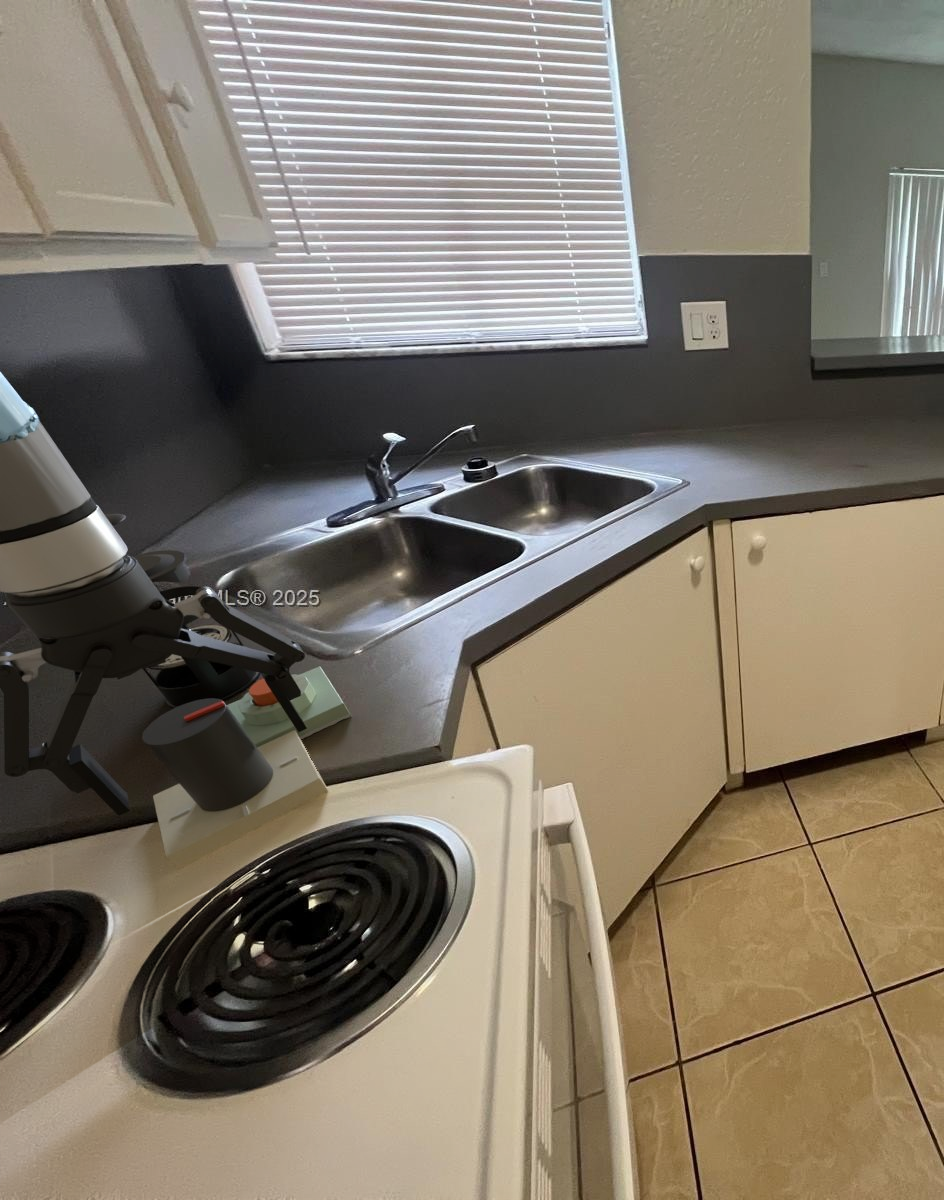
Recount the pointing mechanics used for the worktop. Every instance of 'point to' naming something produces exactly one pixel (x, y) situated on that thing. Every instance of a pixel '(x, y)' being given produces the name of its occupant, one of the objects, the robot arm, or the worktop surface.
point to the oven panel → (207, 831)
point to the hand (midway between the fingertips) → (217, 762)
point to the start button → (262, 694)
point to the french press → (187, 669)
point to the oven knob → (209, 754)
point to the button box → (313, 706)
